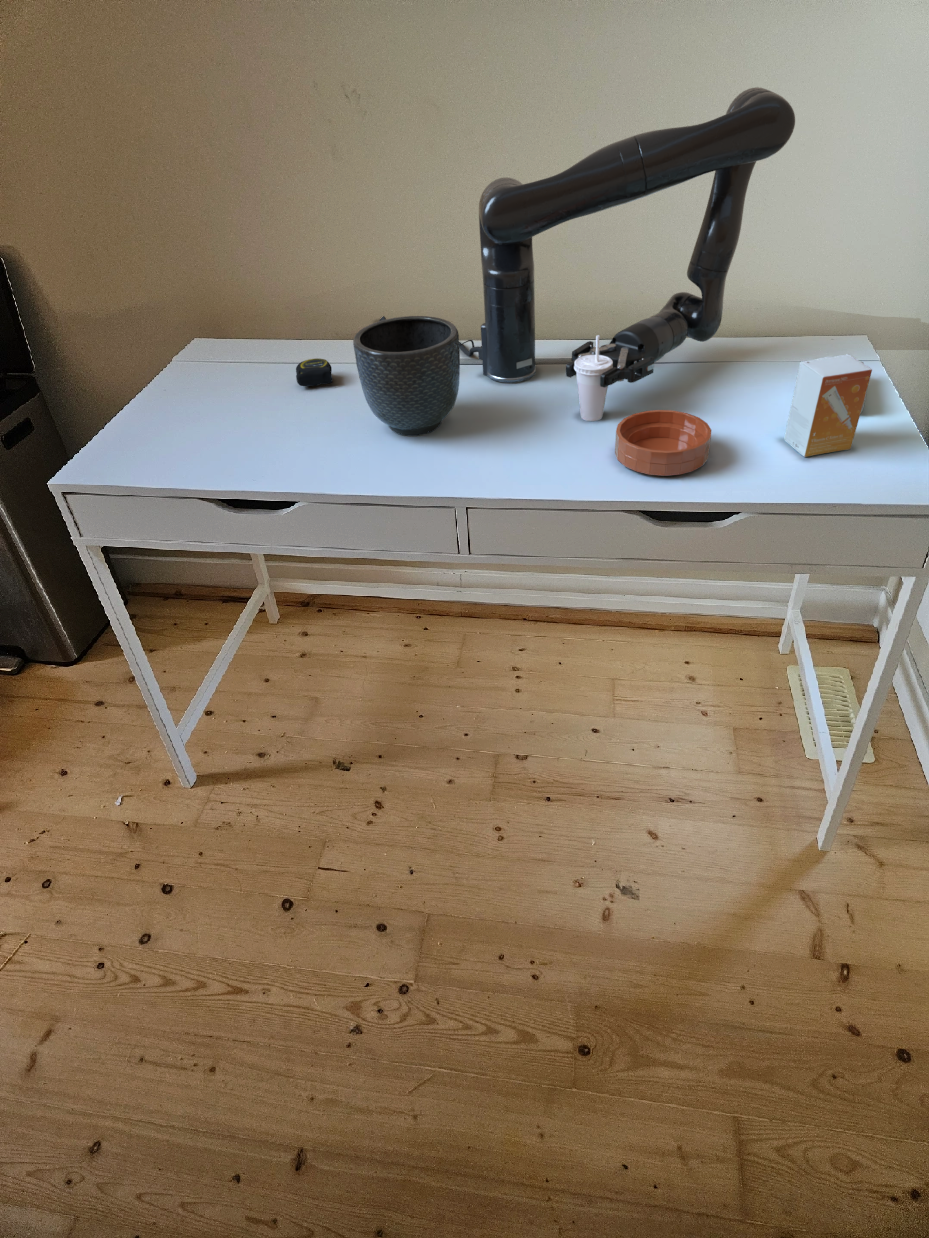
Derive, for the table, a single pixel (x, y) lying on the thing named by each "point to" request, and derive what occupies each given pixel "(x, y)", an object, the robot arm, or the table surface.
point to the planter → (409, 371)
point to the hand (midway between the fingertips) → (584, 376)
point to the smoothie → (592, 383)
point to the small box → (826, 404)
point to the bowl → (662, 442)
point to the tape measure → (313, 372)
